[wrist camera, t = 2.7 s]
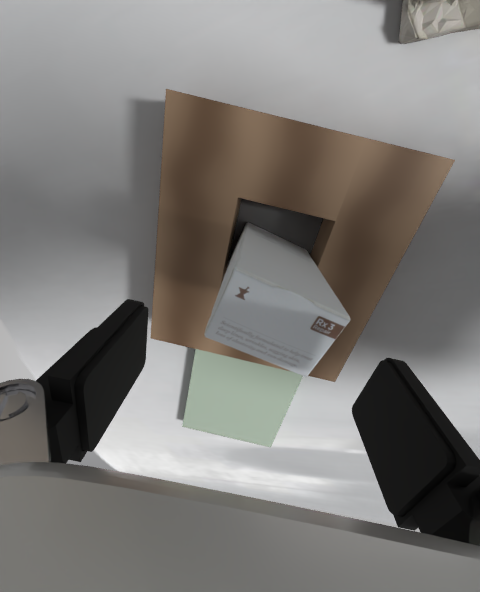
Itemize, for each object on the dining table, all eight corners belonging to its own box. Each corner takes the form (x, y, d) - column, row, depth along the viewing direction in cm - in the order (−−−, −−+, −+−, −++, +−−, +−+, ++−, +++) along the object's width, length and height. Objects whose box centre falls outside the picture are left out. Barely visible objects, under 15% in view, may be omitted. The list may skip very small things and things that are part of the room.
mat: (304, 363, 28) (305, 370, 27) (270, 440, 34) (270, 447, 33) (198, 338, 27) (196, 344, 27) (184, 419, 34) (182, 426, 33)
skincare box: (228, 262, 23) (194, 341, 12) (247, 217, 21) (227, 264, 10) (287, 289, 24) (304, 386, 13) (312, 247, 22) (355, 320, 11)
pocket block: (423, 162, 18) (454, 160, 15) (326, 357, 27) (334, 382, 24) (183, 103, 18) (166, 88, 15) (164, 318, 27) (150, 338, 24)
